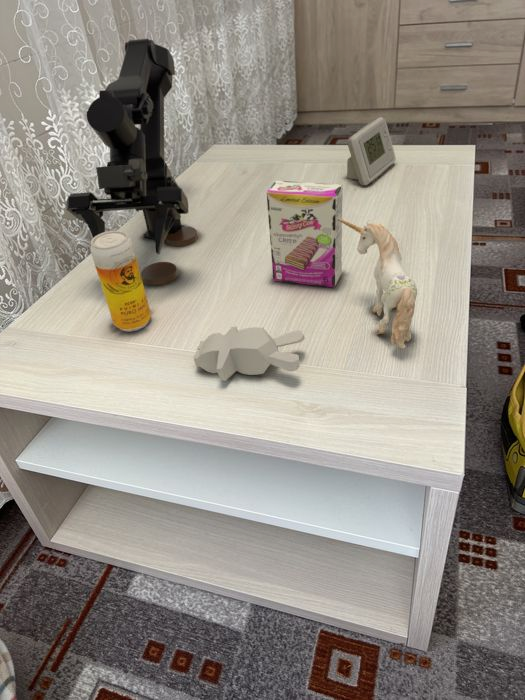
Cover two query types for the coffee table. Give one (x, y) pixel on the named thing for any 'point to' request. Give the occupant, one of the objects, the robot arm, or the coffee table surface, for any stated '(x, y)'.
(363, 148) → the digital clock
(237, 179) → the coffee table surface
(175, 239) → the coaster far
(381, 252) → the unicorn figurine
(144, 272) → the coaster near
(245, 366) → the bunny figurine
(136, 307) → the beer can
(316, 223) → the candy bar box
